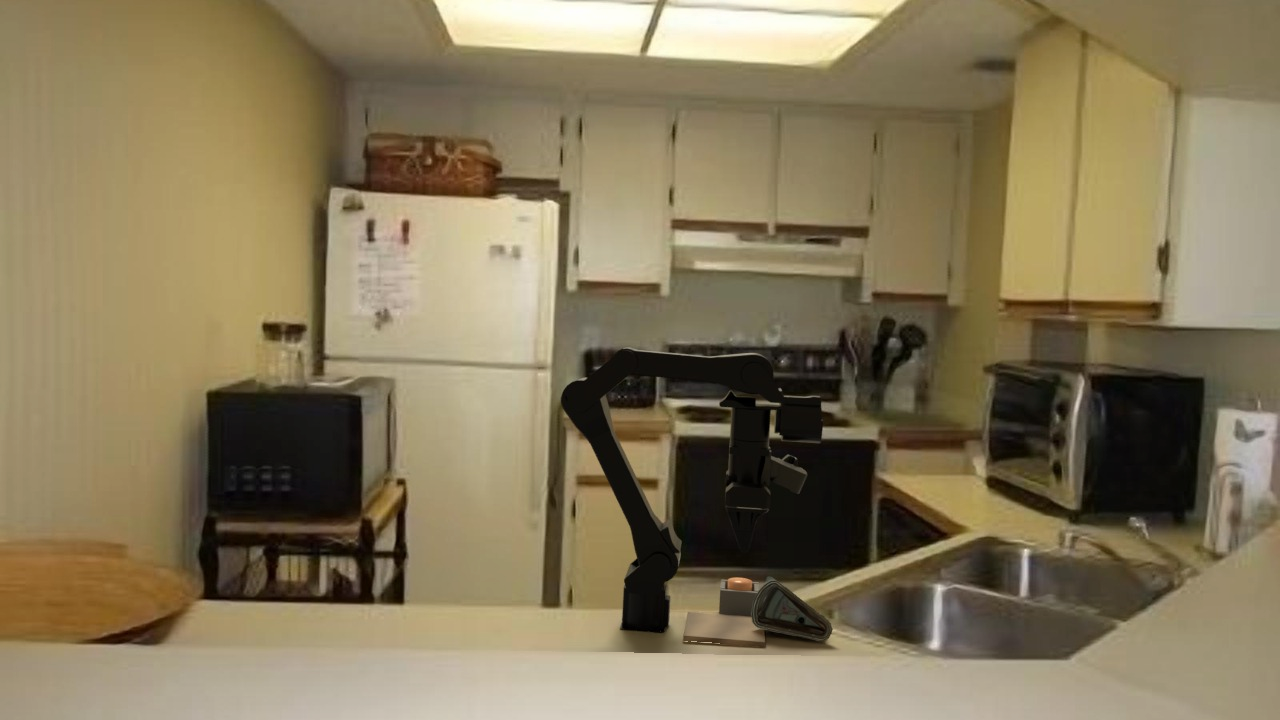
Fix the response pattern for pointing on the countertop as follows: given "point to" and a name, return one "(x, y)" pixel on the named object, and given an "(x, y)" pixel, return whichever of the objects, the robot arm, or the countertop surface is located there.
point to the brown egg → (739, 584)
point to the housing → (736, 600)
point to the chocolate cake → (787, 613)
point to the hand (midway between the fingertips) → (743, 544)
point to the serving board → (722, 629)
